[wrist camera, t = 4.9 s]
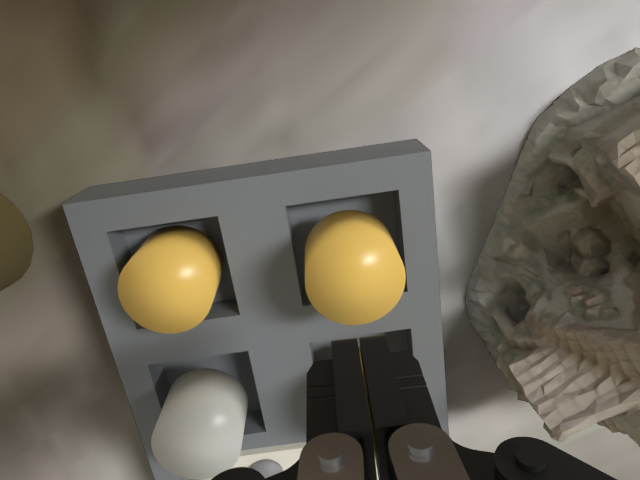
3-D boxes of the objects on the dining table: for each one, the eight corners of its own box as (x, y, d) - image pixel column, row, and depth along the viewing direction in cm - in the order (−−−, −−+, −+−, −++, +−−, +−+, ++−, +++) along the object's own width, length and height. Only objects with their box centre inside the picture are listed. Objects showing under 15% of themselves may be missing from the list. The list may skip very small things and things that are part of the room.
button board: (89, 186, 25) (54, 209, 21) (416, 138, 24) (434, 154, 21) (185, 493, 32) (171, 547, 29) (440, 460, 32) (456, 511, 28)
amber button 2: (298, 216, 22) (297, 241, 20) (388, 203, 22) (401, 226, 19) (311, 297, 24) (312, 331, 21) (396, 285, 24) (409, 317, 21)
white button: (159, 374, 25) (140, 415, 22) (239, 363, 25) (231, 403, 22) (178, 438, 26) (163, 485, 24) (254, 428, 26) (248, 473, 24)
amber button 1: (129, 231, 24) (105, 256, 21) (213, 219, 24) (201, 242, 21) (151, 306, 25) (132, 339, 22) (230, 295, 25) (221, 326, 22)
